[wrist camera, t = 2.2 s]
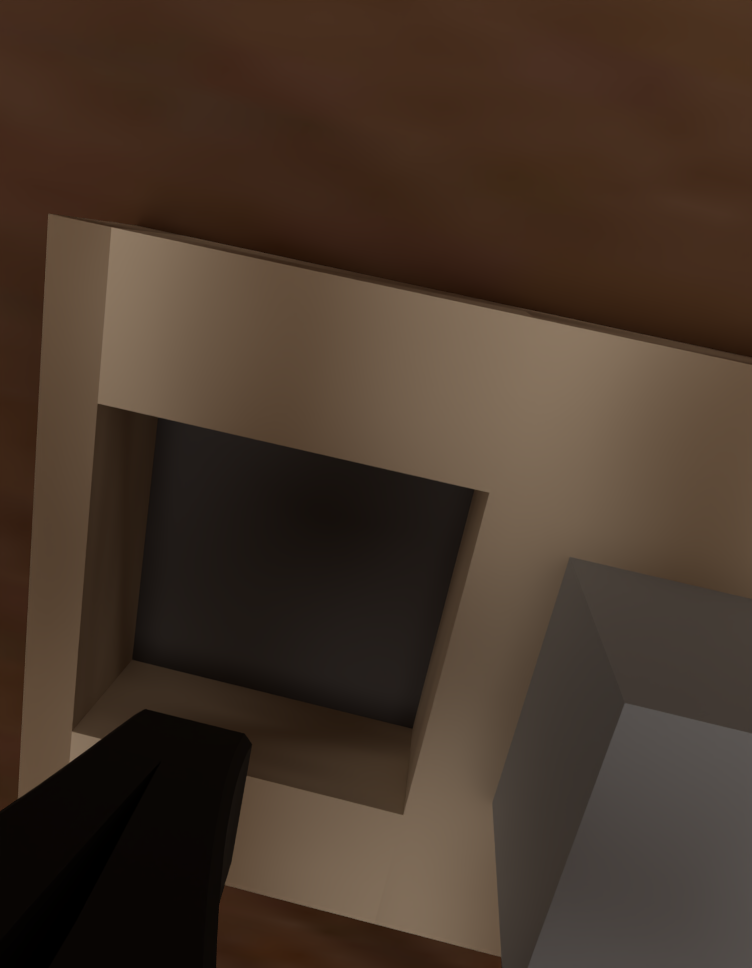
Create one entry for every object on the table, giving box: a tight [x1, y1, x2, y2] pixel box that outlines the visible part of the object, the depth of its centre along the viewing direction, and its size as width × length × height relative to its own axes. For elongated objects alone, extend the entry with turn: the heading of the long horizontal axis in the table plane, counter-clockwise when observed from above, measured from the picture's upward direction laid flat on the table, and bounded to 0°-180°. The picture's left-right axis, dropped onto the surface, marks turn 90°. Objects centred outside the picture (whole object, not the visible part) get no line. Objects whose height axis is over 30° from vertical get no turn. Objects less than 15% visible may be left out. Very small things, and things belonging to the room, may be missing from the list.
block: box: [492, 557, 752, 968], centre depth 10 cm, size 5×5×4 cm
